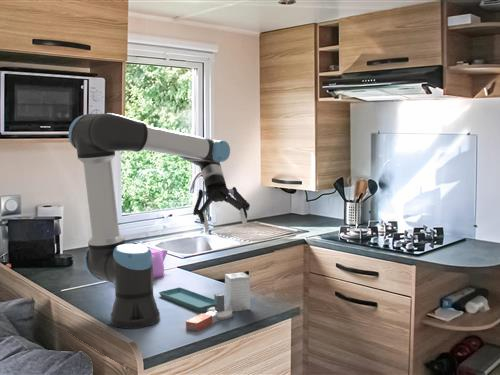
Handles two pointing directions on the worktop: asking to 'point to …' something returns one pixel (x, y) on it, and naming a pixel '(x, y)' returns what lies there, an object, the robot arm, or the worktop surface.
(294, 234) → the worktop surface
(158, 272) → the pink pitcher
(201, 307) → the teal serving tray
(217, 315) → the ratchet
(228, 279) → the tall white box
